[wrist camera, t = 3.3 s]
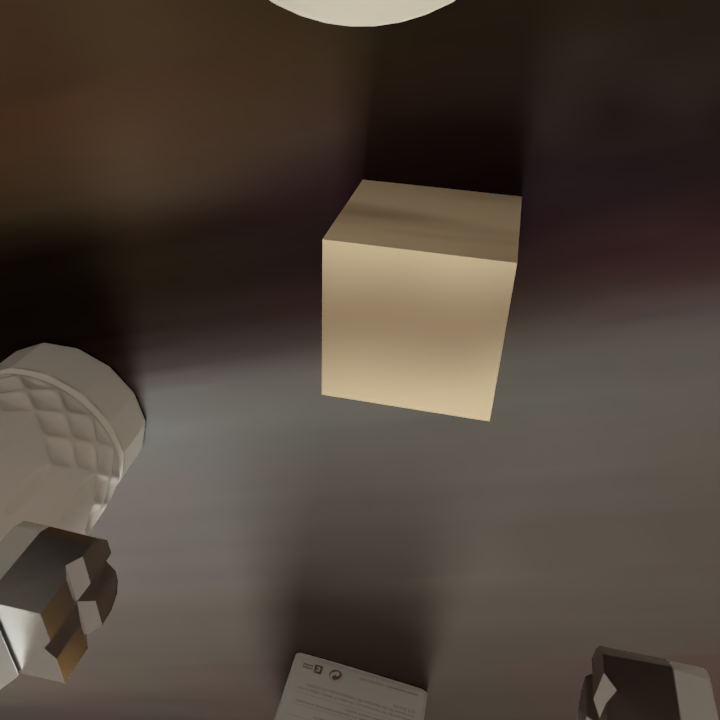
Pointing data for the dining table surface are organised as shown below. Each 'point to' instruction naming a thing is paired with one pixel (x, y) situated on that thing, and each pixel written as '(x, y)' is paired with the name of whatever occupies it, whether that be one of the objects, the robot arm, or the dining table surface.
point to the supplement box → (345, 694)
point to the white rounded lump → (362, 10)
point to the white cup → (63, 437)
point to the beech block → (418, 296)
